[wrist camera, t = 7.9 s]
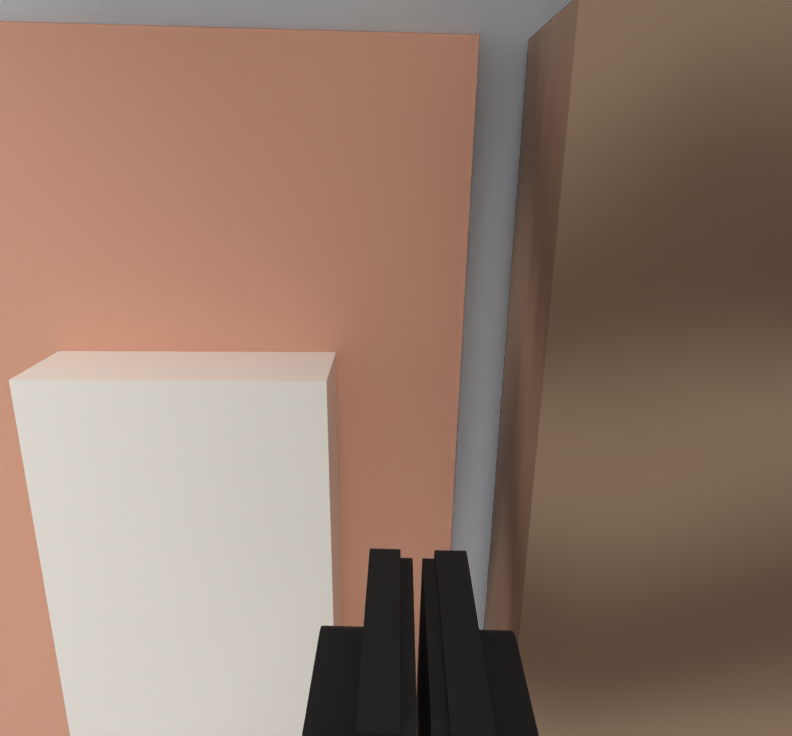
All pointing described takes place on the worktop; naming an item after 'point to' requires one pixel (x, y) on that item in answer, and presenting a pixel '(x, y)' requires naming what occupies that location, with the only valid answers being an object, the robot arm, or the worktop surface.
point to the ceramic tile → (184, 534)
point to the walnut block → (651, 373)
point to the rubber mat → (239, 256)
